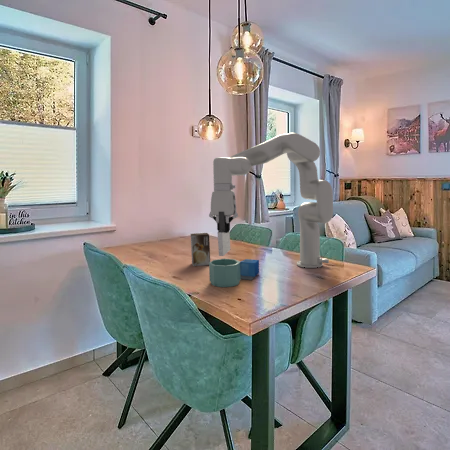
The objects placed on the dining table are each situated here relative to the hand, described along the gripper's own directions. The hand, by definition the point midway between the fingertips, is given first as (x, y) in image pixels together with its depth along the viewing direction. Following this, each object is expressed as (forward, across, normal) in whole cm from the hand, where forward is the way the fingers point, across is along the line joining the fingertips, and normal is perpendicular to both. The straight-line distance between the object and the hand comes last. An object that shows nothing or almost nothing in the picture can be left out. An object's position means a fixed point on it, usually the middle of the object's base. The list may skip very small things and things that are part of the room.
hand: (223, 231), depth 146 cm
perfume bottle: (+18, -11, -14) cm, 26 cm away
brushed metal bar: (+9, 0, -1) cm, 9 cm away
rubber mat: (+22, -4, -11) cm, 25 cm away
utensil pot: (+22, 0, 0) cm, 22 cm away
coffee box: (+22, +23, -27) cm, 42 cm away
